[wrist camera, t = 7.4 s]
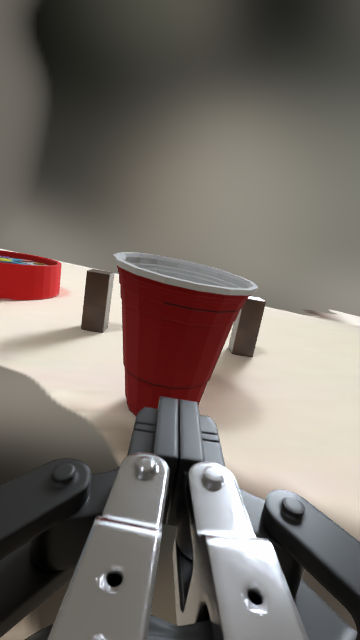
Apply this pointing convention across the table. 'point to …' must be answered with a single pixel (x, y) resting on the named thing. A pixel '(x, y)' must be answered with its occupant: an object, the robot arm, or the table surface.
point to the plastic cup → (174, 325)
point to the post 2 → (247, 327)
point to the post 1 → (97, 300)
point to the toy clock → (28, 277)
